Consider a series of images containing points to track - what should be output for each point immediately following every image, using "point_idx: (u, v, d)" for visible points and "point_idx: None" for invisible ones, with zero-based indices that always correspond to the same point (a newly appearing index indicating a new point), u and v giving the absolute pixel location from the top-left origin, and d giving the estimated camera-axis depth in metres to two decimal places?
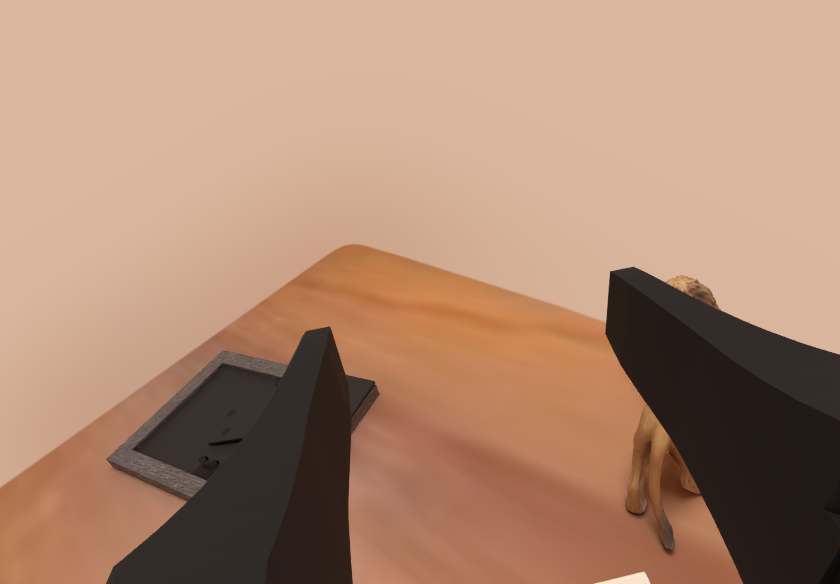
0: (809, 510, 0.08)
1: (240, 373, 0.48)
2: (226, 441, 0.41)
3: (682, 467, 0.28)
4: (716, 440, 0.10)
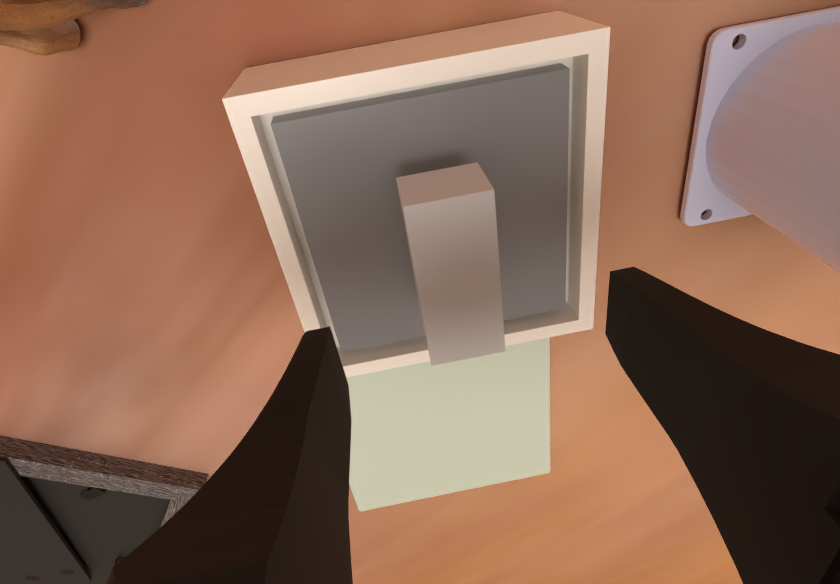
0: (809, 510, 0.08)
1: None
2: (82, 566, 0.31)
3: None
4: (716, 440, 0.10)
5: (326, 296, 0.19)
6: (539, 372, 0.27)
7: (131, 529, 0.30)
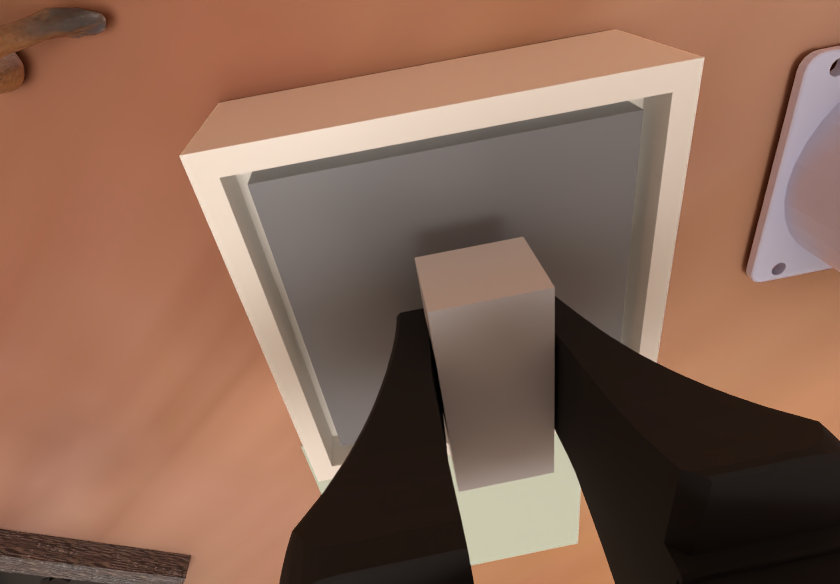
0: (655, 542, 0.08)
1: None
2: None
3: None
4: (596, 465, 0.10)
5: (322, 385, 0.15)
6: None
7: None
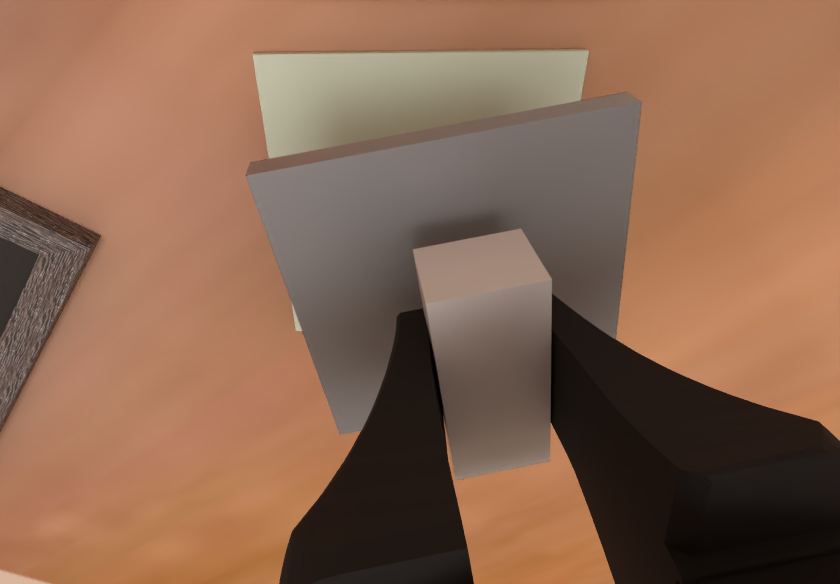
0: (655, 542, 0.08)
1: None
2: None
3: None
4: (596, 465, 0.10)
5: (320, 375, 0.15)
6: None
7: None
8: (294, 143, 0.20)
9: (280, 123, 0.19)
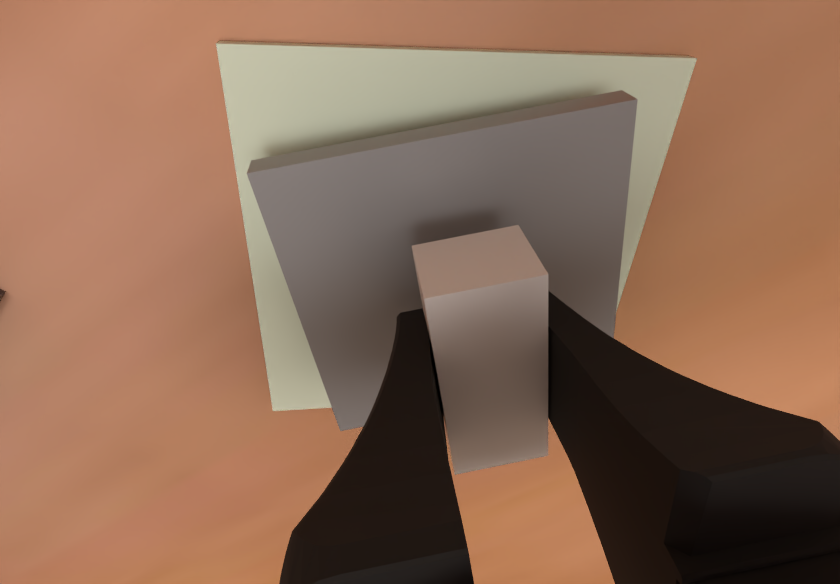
0: (655, 542, 0.08)
1: None
2: None
3: None
4: (596, 465, 0.10)
5: (321, 372, 0.15)
6: (641, 176, 0.15)
7: None
8: None
9: (256, 144, 0.13)
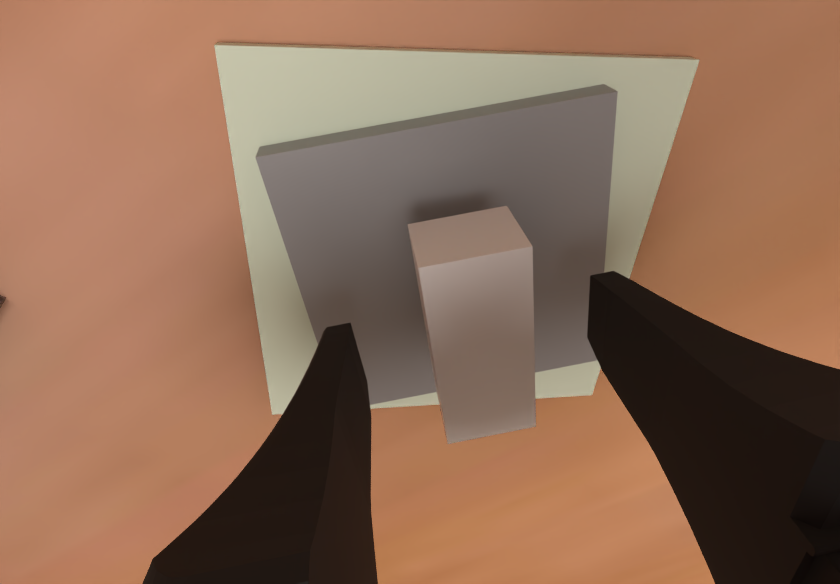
0: (776, 517, 0.08)
1: None
2: None
3: None
4: (690, 445, 0.10)
5: None
6: (643, 178, 0.15)
7: None
8: None
9: (255, 146, 0.13)
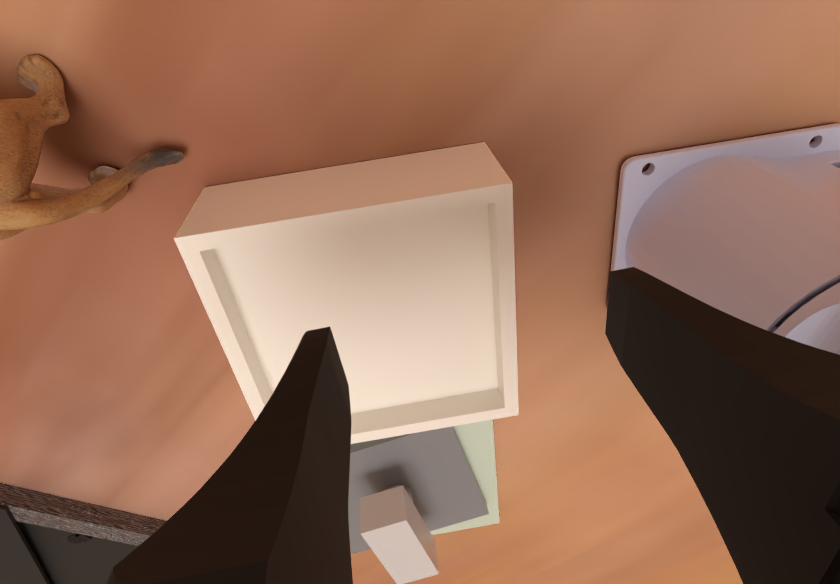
0: (809, 510, 0.08)
1: None
2: None
3: (42, 143, 0.16)
4: (716, 440, 0.10)
5: None
6: (483, 436, 0.29)
7: (110, 570, 0.32)
8: None
9: None
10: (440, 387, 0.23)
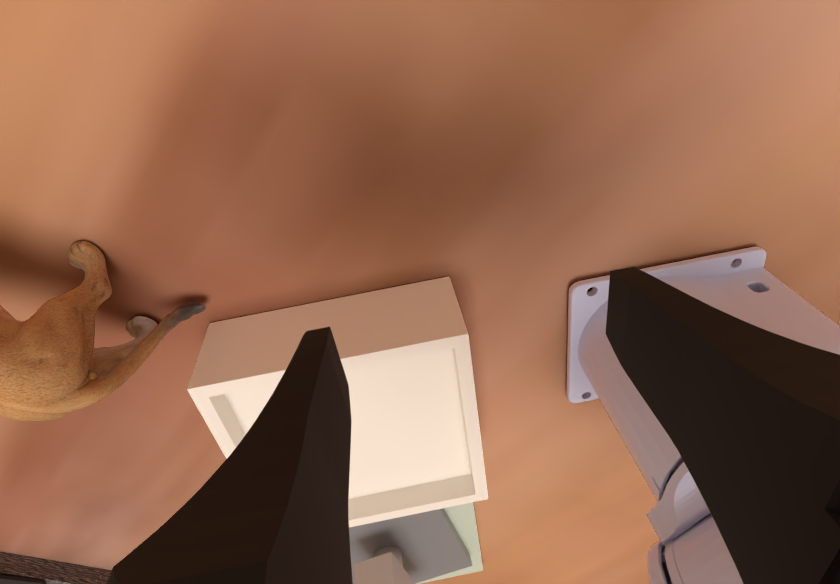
0: (809, 510, 0.08)
1: None
2: None
3: (94, 325, 0.19)
4: (716, 440, 0.10)
5: None
6: None
7: None
8: None
9: None
10: (419, 476, 0.27)
